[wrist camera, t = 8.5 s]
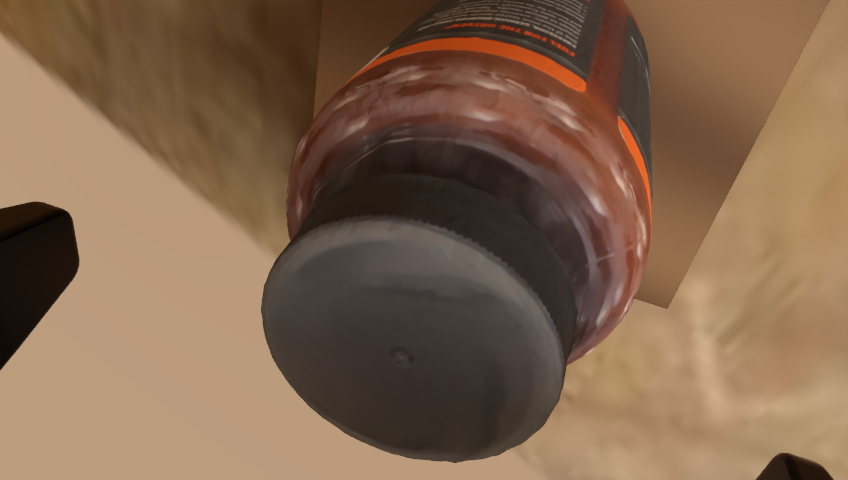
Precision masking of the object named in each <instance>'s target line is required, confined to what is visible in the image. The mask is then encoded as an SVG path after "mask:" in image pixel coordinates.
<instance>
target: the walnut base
mask: <svg viewBox="0 0 848 480" xmlns="http://www.w3.org/2000/svg"><path fill="white" fill-rule="evenodd" d="M438 1H439V0H323V3H322V15H321V27H320V40H319V52H318V64H317V77H316V89H315V101H314V114H313V119H314V118H315V117H316V115H317V114H318V113H319V111H320V110H321V108H322V107H323V106H324V105H325V104H326V103H327V101H328V100H329V99H330V98H331V97H332V96H333V95H334V94H335V93H336V92H337V91H338V90H339V89H340V88H341V87H343V86H344V85H345V84H346V83H347V82H348V81H349V80H350V79H351V78H352V77H353V76H354V75H355V74H356V73H358V72H359V71H360V70H361V69H362V68H363V67H364V66H365V65H367V64H368V63H369V62H370V61H371V60H372V59H373V58H374V57H376V56H377V55H378V54H379V53H380V52H381V51H382V50H383V49H384V48H385V47H386V46H388V45H389V44H390V43H391V42H392V41H393V40H394V39H395V38H396V37H398V36H399V35H400V34H401V33H402V32H403V31H404V30H405V29H407V28H408V27H409V26H410V25H411V24H412V23H414V21H416V20H417V19H418V18H419V17H421V16H422V15H423V14H424V13H425V12H426V11H427V10H428V9H429V8H430V7H432V6H433V5H434V4H435V3H436V2H438ZM623 1H624V2H625V3H626V5H627V6H628V7H629V9H630V10H631V12H632V13H633V15H634V17H635V19H636V21H637V24H638V26H639V28H640V30H641V33H642V36H643V39H644V42H645V45H646V50H647V53H648V61H649V66H650V111H651V155H652V192H653V198H652V203H651V219H652V231H651V241H650V247H649V253H648V257H647V262H646V267H645V272H644V275H643V278H642V281H641V284H640V287H639V290H638V292H637V294H636V296H635V297H634V299H638V300H641V301H644V302H647V303H650V304H653V305H657V306H660V307H663V308H666V309H668V307H669V305H670V303H671V301H672V299H673V297H674V295H675V294H676V292H677V290H678V288H679V286H680V284H681V282H682V280H683V278H684V276H685V275H686V273H687V271H688V269H689V267H690V265H691V263H692V261H693V259H694V257H695V255H696V254H697V252H698V250H699V248H700V246H701V244H702V242H703V240H704V238H705V236H706V235H707V233H708V231H709V229H710V227H711V225H712V223H713V221H714V219H715V217H716V215H717V214H718V212H719V210H720V208H721V206H722V204H723V202H724V200H725V198H726V196H727V195H728V193H729V191H730V189H731V187H732V185H733V183H734V181H735V179H736V177H737V176H738V174H739V172H740V170H741V168H742V166H743V164H744V162H745V160H746V158H747V156H748V155H749V153H750V151H751V149H752V147H753V145H754V143H755V141H756V139H757V137H758V136H759V134H760V132H761V130H762V128H763V126H764V124H765V122H766V120H767V118H768V117H769V115H770V113H771V111H772V109H773V107H774V105H775V103H776V101H777V99H778V97H779V96H780V94H781V92H782V90H783V88H784V86H785V84H786V82H787V80H788V78H789V77H790V75H791V73H792V71H793V69H794V67H795V65H796V63H797V61H798V59H799V57H800V56H801V54H802V52H803V50H804V48H805V46H806V44H807V42H808V40H809V38H810V37H811V35H812V33H813V31H814V29H815V27H816V25H817V23H818V21H819V19H820V18H821V16H822V14H823V12H824V10H825V8H826V6H827V4H828V2H829V0H623Z"/></svg>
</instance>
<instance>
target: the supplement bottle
mask: <svg viewBox="0 0 848 480" xmlns="http://www.w3.org/2000/svg"><path fill="white" fill-rule="evenodd" d="M652 198H653V192H652V155H651V111H650V66H649V61H648V53H647V50H646V45H645V42H644V39H643V36H642V33H641V30H640V28H639V26H638V24H637V21H636V19H635V17H634V15H633V13H632V12H631V10H630V9H629V7H628V6H627V5H626V3H625V2H624V1H623V0H439V1H438V2H436V3H435V4H434V5H433V6H432V7H430V8H429V9H428V10H427V11H426V12H425V13H424V14H423V15H422V16H421V17H419V18H418V19H417V20H416V21H414V23H412V24H411V25H410V26H409V27H408V28H407V29H405V30H404V31H403V32H402V33H401V34H400V35H399V36H398V37H396V38H395V39H394V40H393V41H392V42H391V43H390V44H389V45H388V46H386V47H385V48H384V49H383V50H382V51H381V52H380V53H379V54H378V55H377V56H376V57H374V58H373V59H372V60H371V61H370V62H369V63H368V64H367V65H365V66H364V67H363V68H362V69H361V70H360V71H359V72H358V73H356V74H355V75H354V76H353V77H352V78H351V79H350V80H349V81H348V82H347V83H346V84H345V85H344V86H343V87H341V88H340V89H339V90H338V91H337V92H336V93H335V94H334V95H333V96H332V97H331V98H330V99H329V100H328V101H327V103H326V104H325V105H324V106H323V107H322V108H321V110H320V111H319V113H318V114H317V115H316V117H315V118H314V119H313V120H312V122H311V123H310V125H309V126H308V128H307V130H306V131H305V133H304V134H303V136H302V138H301V140H300V142H299V145H298V147H297V150H296V153H295V156H294V158H293V162H292V165H291V170H290V174H289V179H288V189H287V198H286V214H287V226H288V233H289V238H290V240H291V242H290V243H289V244H288V245H287V247H286V248H285V249H284V250H283V252H282V253H281V254H280V255H279V257H278V258H277V259H276V261H275V263H274V265H273V267H272V269H271V270H270V272H269V275H268V278H267V281H266V283H265V285H264V291H263V298H262V307H261V313H262V318H263V327H264V333H265V337H266V341H267V344H268V346H269V349H270V352H271V355H272V358H273V359H274V361H275V363H276V365H277V366H278V368H279V369H280V371H281V372H282V374H283V375H284V377H285V378H286V380H287V381H288V383H289V384H290V385H291V386H292V388H293V389H294V390H295V391H296V392H297V394H298V395H299V396H300V397H301V398H302V399H303V400H304V401H305V402H306V403H307V404H308V405H309V407H311V408H312V409H313V410H314V411H315V412H317V413H318V414H319V415H320V416H321V417H323V418H324V419H326V420H327V421H329V422H330V423H332V424H333V425H334V426H336V427H338V428H339V429H340V430H342V431H343V432H344V433H346V434H348V435H350V436H351V437H354V438H355V439H357V440H360V441H361V442H364V443H366V444H369V445H371V446H373V447H376V448H378V449H380V450H383V451H386V452H389V453H391V454H396V455H400V456H404V457H407V458H413V459H421V460H431V461H449V462H453V463H457V462H462V461H466V460H477V459H484V458H488V457H491V456H496V455H500V454H501V453H503V452H505V451H506V450H509V449H511V448H513V447H515V446H517V445H520V444H522V443H523V442H525V441H526V440H527V439H528V438H529V437H531V436H532V435H533V434H534V433H535V432H537V431H538V430H539V429H540V428H541V427H542V426H543V425H544V424H545V423H546V421H547V419H548V418H549V416H550V414H551V413H552V411H553V409H554V408H555V406H556V404H557V403H558V401H559V399H560V394H561V391H562V388H563V384H564V378H565V372H566V366H567V365H569V364H571V363H572V362H574V361H576V360H577V359H579V358H581V357H583V356H584V355H586V354H588V353H589V352H591V351H592V350H594V349H595V348H596V347H597V346H598V345H599V344H600V343H601V342H602V341H603V340H605V338H606V337H607V336H608V335H609V334H610V333H611V332H612V331H613V330H614V328H615V327H616V326H617V325H618V324H619V323H620V322H621V321H622V319H623V318H624V316H625V315H626V313H627V312H628V310H629V308H630V307H631V305H632V302H633V299H634V297H635V296H636V294H637V292H638V290H639V287H640V284H641V281H642V278H643V275H644V272H645V267H646V262H647V257H648V253H649V247H650V241H651V231H652V219H651V203H652Z"/></svg>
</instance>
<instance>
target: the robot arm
mask: <svg viewBox="0 0 848 480" xmlns="http://www.w3.org/2000/svg"><path fill="white" fill-rule="evenodd" d="M78 267H79V254H78V248H77V242H76V237H75V231H74V225H73V220H72V217H71V216H70V214H69V213H68V212H67V211H65V210H64V209H61V208H58V207H55V206H52V205H49V204H46V203H42V202H30V203H25V204H20V205H16V206H12V207H7V208H2V209H0V370H1V369H2V368H3V366H4V365H5V364H6V363H7V362H8V360H9V359H10V358H11V357H12V356H13V355H14V353H15V352H16V351H17V349H18V348H19V347H20V346H21V344H22V343H23V342H24V341H25V339H26V338H27V337H28V335H29V334H30V333H31V332H32V330H33V329H34V328H35V327H36V325H37V324H38V323H39V321H40V320H41V319H42V318H43V317H44V315H45V314H46V313H47V312H48V310H49V309H50V308H51V306H52V305H53V304H54V302H55V301H56V300H57V299H58V298H59V296H60V295H61V294H62V293H63V291H64V290H65V289H66V287H67V286H68V285H69V284H70V282H71V281H72V280H73V278H74V277H75V275H76V273H77V271H78ZM756 480H834V479H833V478H832V477H831V475H830V474H829V473H828V472H827V471H826V470H825V468H824V467H822V466H821V465H820V464H818V463H816V462H813V461H810V460H807V459H804V458H801V457H798V456H795V455H792V454H789V453H780V454H778V455H776V456H775V457H774V458H773V459H772V460H771V461H770V463H769V464H768V465H767V466H766V468H765V469H764V470H763V471H762V473H761V474H760V475H759V476H758V478H757V479H756Z"/></svg>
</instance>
